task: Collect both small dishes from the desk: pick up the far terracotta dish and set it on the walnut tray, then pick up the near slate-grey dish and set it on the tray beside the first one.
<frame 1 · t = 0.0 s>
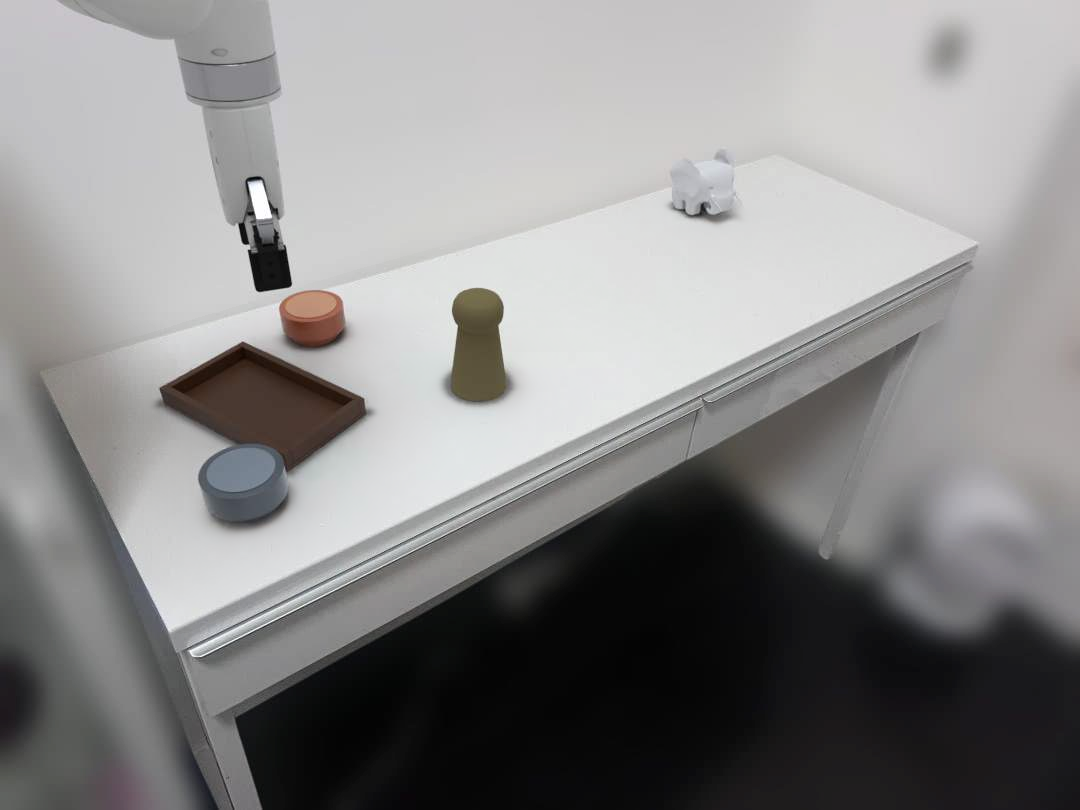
hand: (266, 264, 76), 14 cm above the table, tool pointing down, fingers open, 9 cm apart
terracotta dish: (315, 333, 93), on the table
tray: (265, 408, 82), on the table
slate dish: (249, 501, 71), on the table
pepper shaker: (478, 386, 87), on the table
elephant figurine: (700, 211, 125), on the table
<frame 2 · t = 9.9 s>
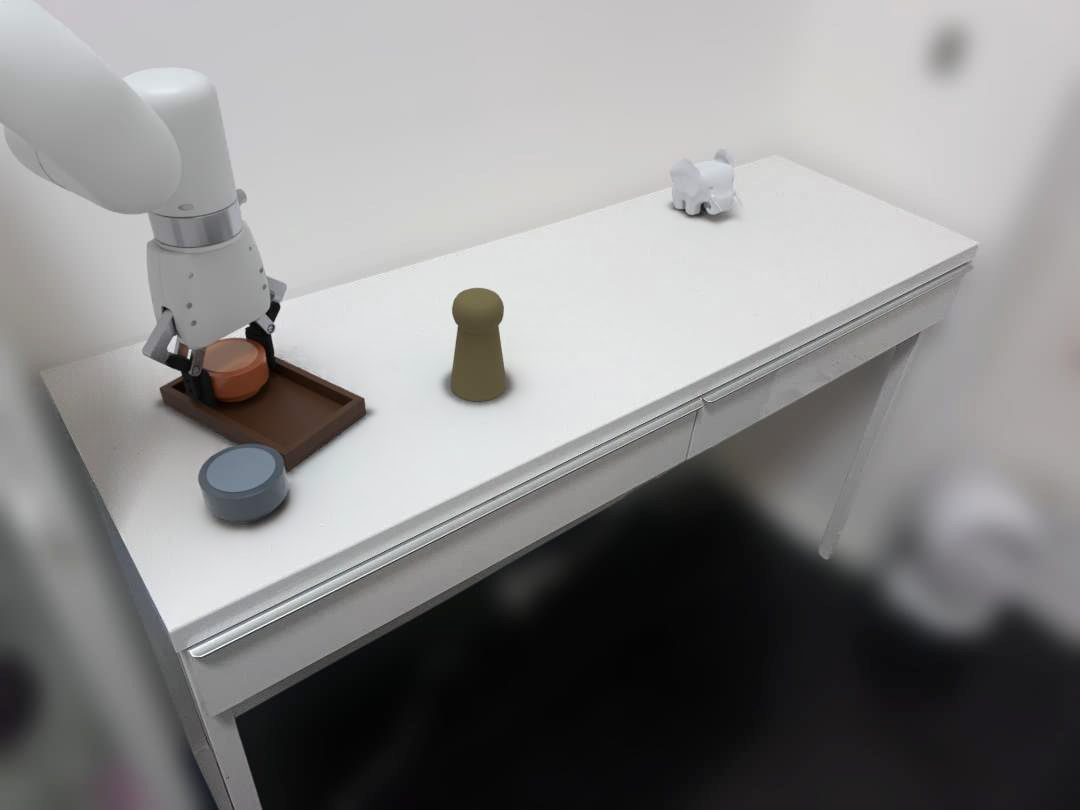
hand: (234, 380, 82), 2 cm above the table, tool pointing down, fingers closed on terracotta dish, 7 cm apart
terracotta dish: (235, 387, 83), point 1 cm above the table, touching gripper
everything else where it was.
when the fingers open (2 cm above the table, at t = 17.4 s): terracotta dish drops 1 cm, resting on tray.
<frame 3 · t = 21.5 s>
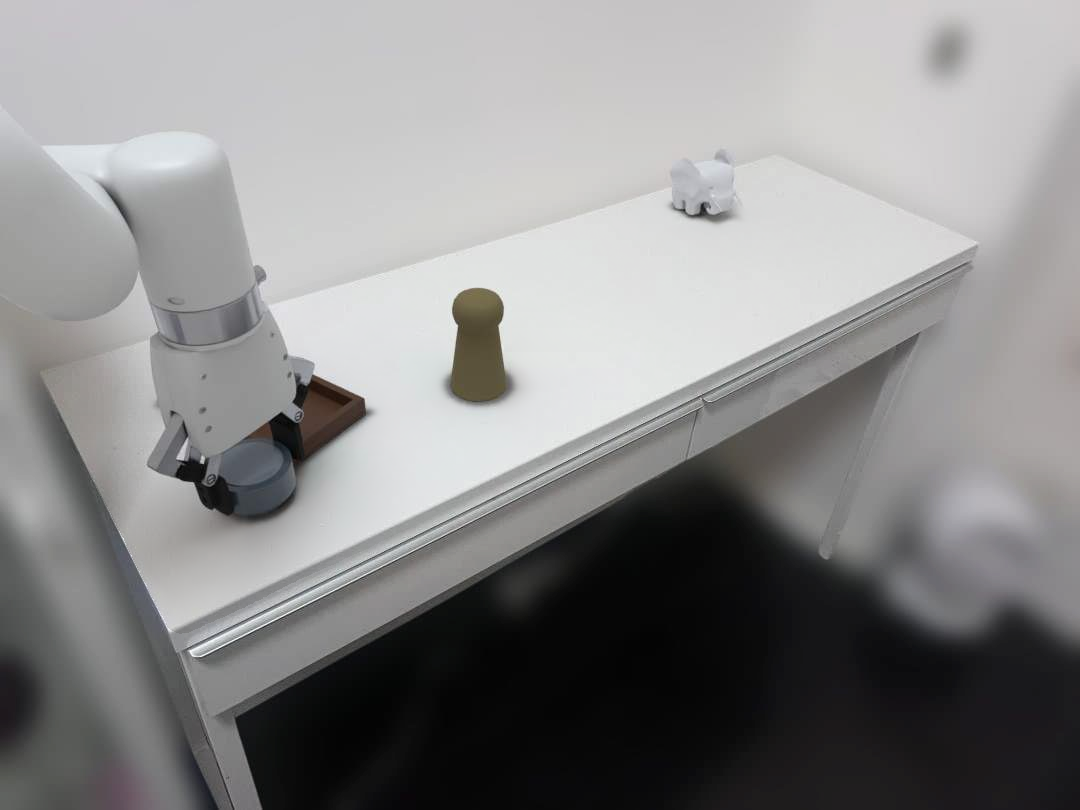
hand: (256, 479, 71), 2 cm above the table, tool pointing down, fingers open, 7 cm apart
terracotta dish: (236, 391, 83), resting on tray
slate dish: (257, 495, 72), on the table, touching gripper
everything else where it was.
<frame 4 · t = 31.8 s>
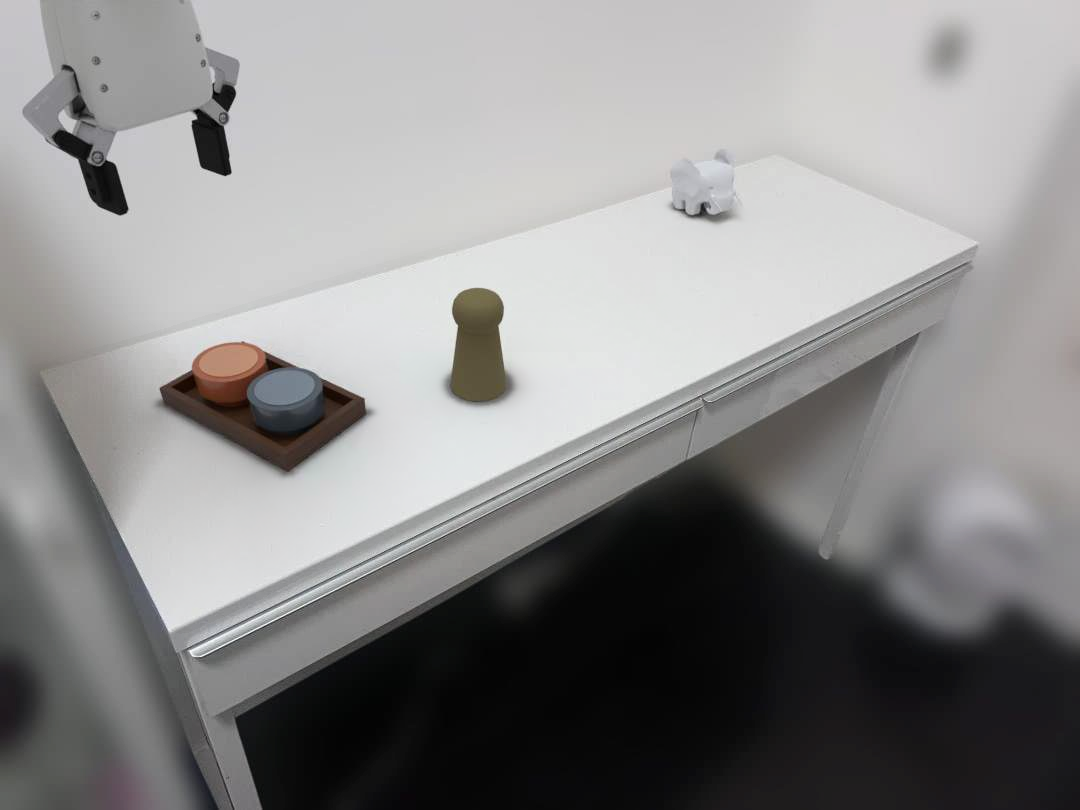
hand: (167, 189, 64), 24 cm above the table, tool pointing down, fingers open, 9 cm apart
slate dish: (290, 418, 80), resting on tray
everything else where it was.
at the end: terracotta dish inside the target area in the tray (4.0 cm from its centre), point 0.5 cm above the tray's base; slate dish inside the target area in the tray (3.8 cm from its centre), point 0.5 cm above the tray's base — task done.
